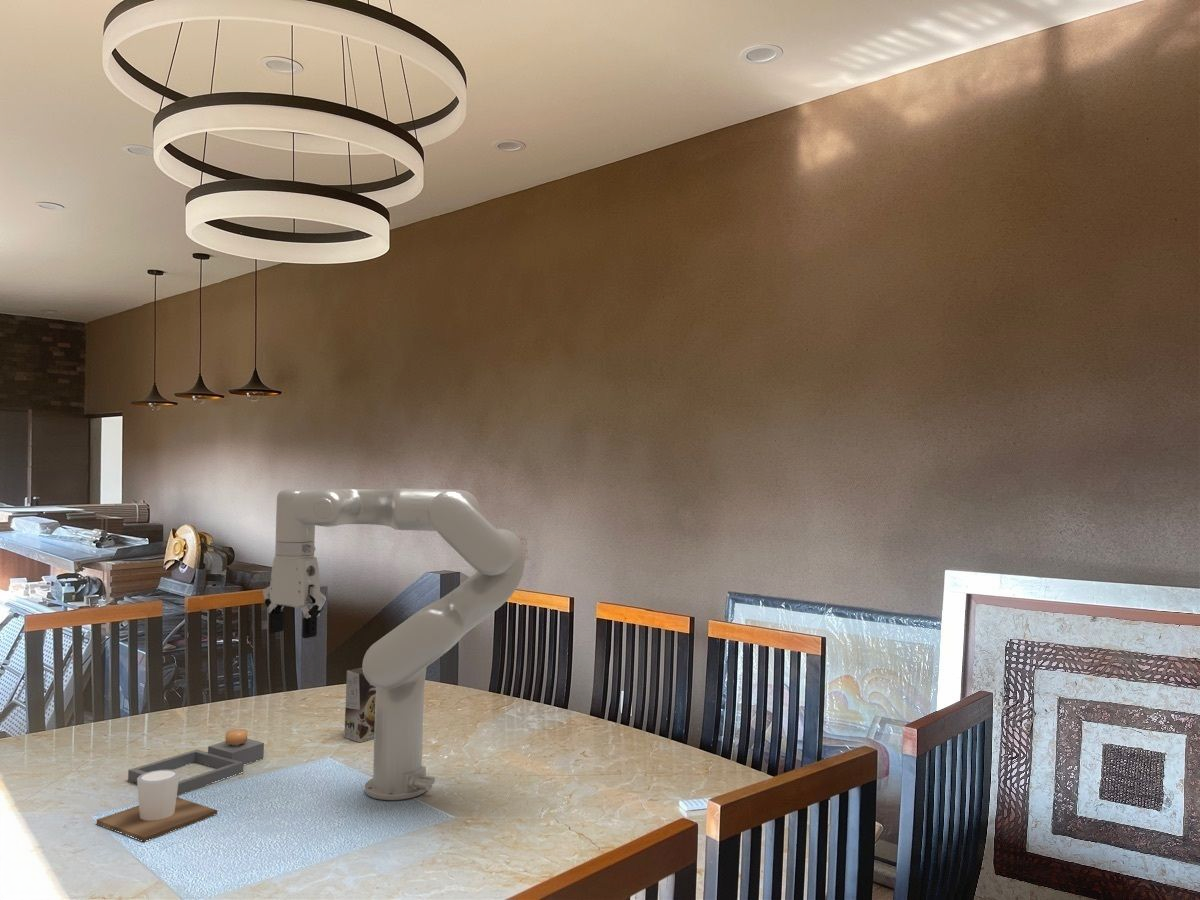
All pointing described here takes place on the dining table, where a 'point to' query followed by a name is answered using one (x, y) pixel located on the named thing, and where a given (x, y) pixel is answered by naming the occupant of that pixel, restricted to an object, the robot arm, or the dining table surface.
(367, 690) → the coffee box
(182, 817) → the walnut mat
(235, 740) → the orange rounded piece
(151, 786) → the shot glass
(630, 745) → the dining table surface
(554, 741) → the dining table surface
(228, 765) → the housing
